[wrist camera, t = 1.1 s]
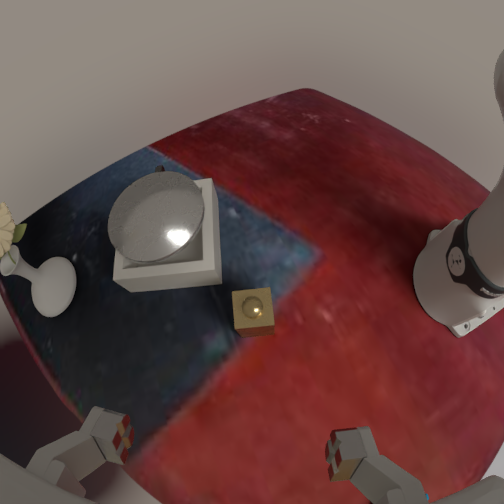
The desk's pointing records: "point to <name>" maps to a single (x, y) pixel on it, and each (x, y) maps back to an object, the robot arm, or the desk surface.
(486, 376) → the desk surface
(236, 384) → the desk surface
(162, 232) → the scale pan
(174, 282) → the base
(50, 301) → the flower in vase
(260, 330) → the brass weight
